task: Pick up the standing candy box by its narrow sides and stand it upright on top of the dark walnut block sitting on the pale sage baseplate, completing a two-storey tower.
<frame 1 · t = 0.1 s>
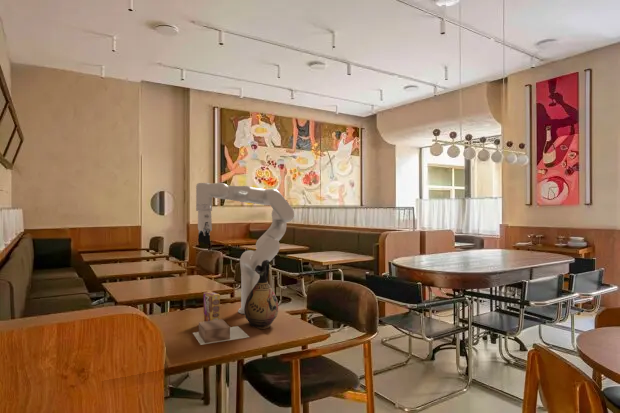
hand: (204, 242, 195), 37 cm above the table, tool pointing down, fingers open, 9 cm apart
ceramic jug: (262, 326, 183), on the table
candy box: (211, 327, 181), on the table
walnut block: (214, 336, 164), point 1 cm above the table, touching baseplate
baseplate: (220, 337, 167), on the table
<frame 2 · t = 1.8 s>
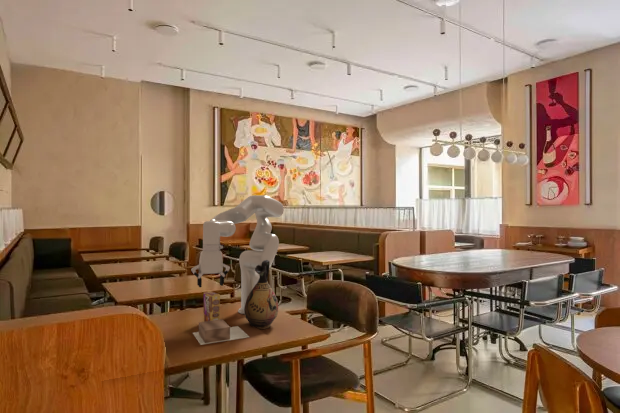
hand: (210, 286, 180), 19 cm above the table, tool pointing down, fingers open, 9 cm apart
nothing on the table moved.
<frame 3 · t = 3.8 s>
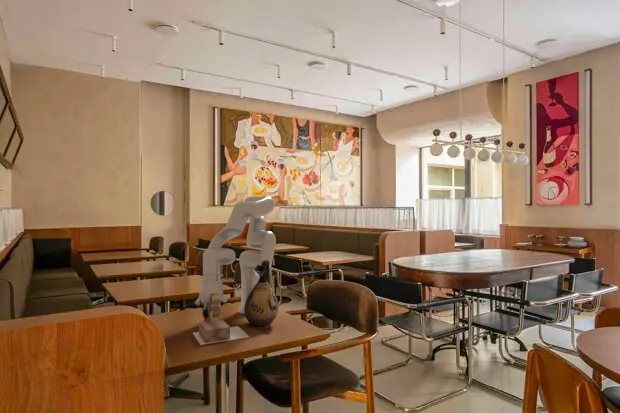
hand: (211, 316, 181), 4 cm above the table, tool pointing down, fingers closed on candy box, 4 cm apart
candy box: (211, 327, 181), on the table, touching gripper
everything else where it was.
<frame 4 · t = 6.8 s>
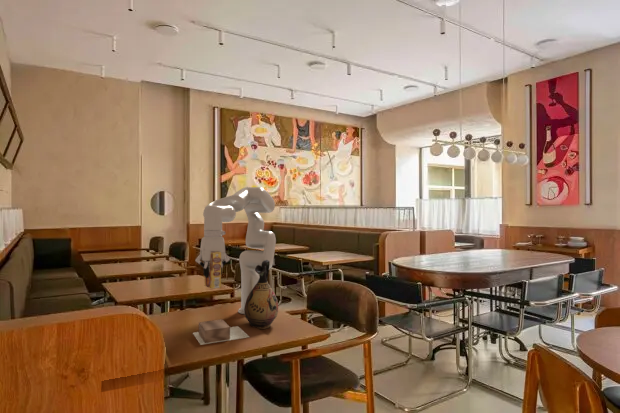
hand: (212, 276, 170), 25 cm above the table, tool pointing down, fingers closed on candy box, 4 cm apart
candy box: (212, 287, 170), point 20 cm above the table, touching gripper
everything else where it was.
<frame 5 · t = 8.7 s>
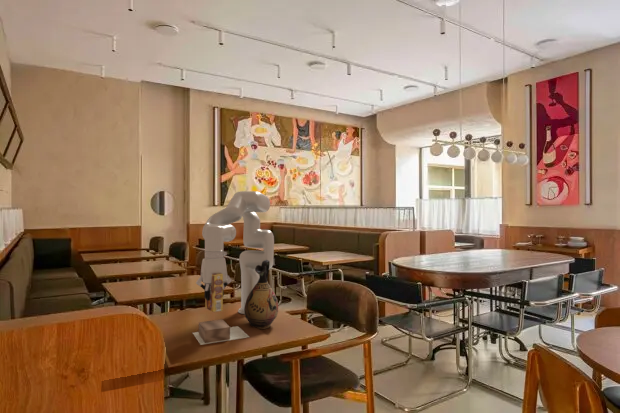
hand: (214, 298, 164), 17 cm above the table, tool pointing down, fingers closed on candy box, 4 cm apart
candy box: (214, 310, 164), point 12 cm above the table, touching gripper
everything else where it was.
when the fingers open (11 cm above the table, at t = 10.0 s): candy box stays where it is, resting on walnut block.
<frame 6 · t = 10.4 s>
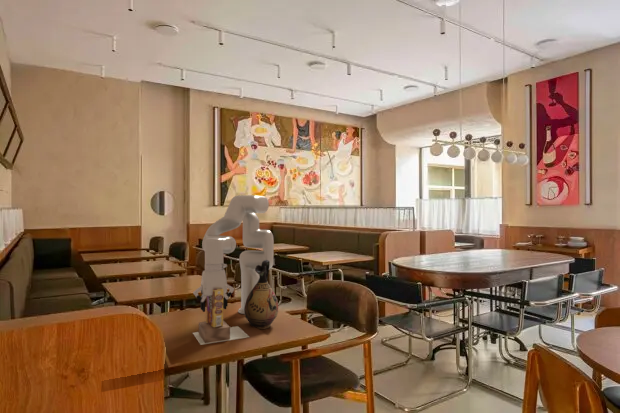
hand: (214, 309, 164), 12 cm above the table, tool pointing down, fingers open, 8 cm apart
candy box: (214, 324, 165), point 6 cm above the table, touching walnut block
walnut block: (214, 336, 164), point 1 cm above the table, touching baseplate, candy box
everything else where it was.
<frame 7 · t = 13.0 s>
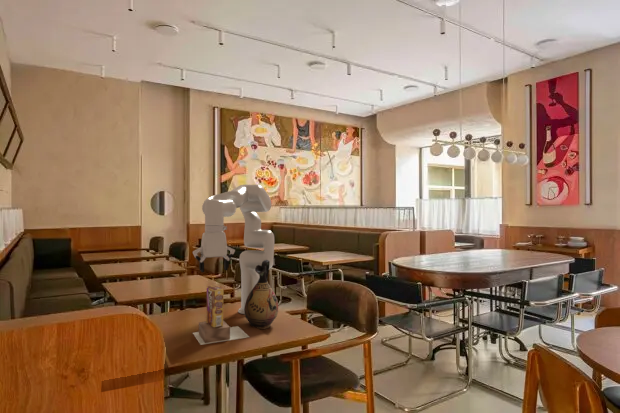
hand: (214, 270, 164), 28 cm above the table, tool pointing down, fingers open, 9 cm apart
nothing on the table moved.
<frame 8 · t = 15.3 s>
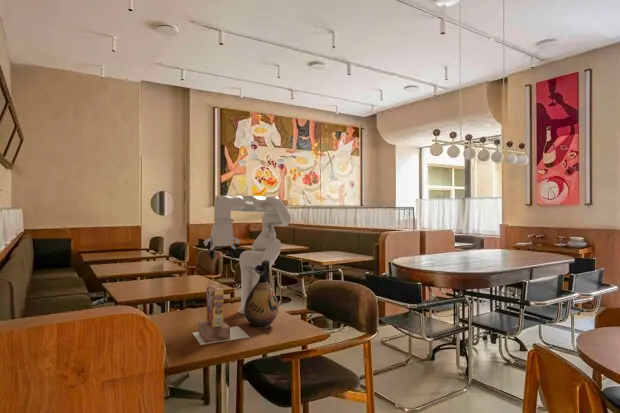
hand: (222, 258, 187), 30 cm above the table, tool pointing down, fingers open, 9 cm apart
nothing on the table moved.
at the end: candy box 0.4 cm off-centre on the walnut block, point 4.8 cm above the walnut block's base; candy box tilted 0°; the gripper is holding nothing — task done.
